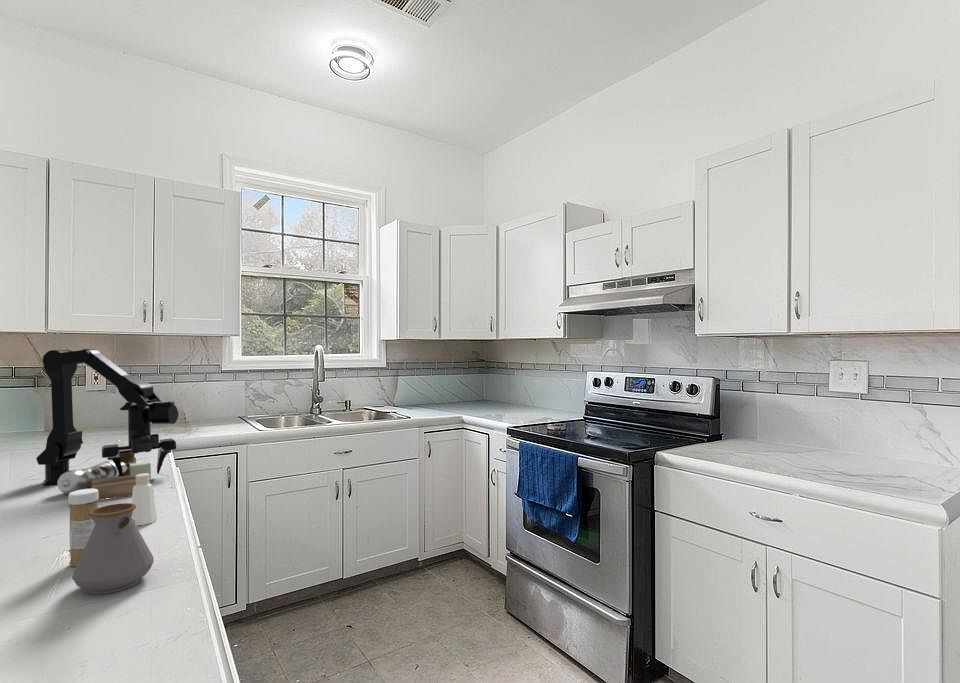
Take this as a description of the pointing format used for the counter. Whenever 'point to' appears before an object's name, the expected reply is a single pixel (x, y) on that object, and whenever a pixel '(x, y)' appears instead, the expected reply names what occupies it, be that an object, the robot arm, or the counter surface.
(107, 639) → the counter surface
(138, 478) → the salt shaker
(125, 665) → the counter surface
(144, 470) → the sage cube
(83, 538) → the sprinkles bottle
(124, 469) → the plastic bottle
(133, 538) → the coffee pot
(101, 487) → the walnut block
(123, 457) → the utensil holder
